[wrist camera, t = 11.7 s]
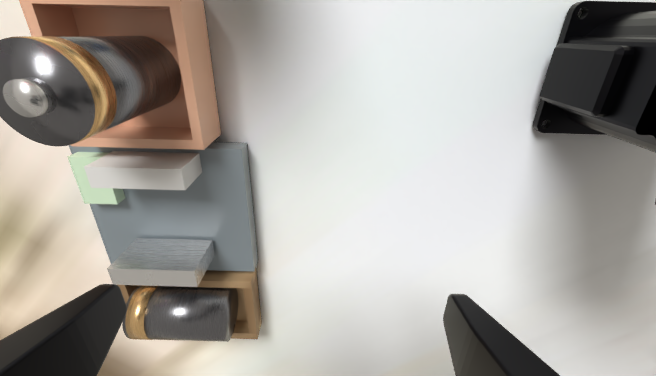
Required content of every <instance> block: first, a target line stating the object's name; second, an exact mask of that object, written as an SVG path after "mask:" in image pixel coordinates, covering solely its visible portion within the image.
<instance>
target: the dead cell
mask: <svg viewBox="0 0 656 376" xmlns="http://www.w3.org/2000/svg"><path fill="white" fill-rule="evenodd" d="M180 86H181V73H180V69H179V66H178V64H177V62H176V60H175V58H174V56H173V55H172V54H171V52H170V51H169V50H168V49H167V48H166V47H165V46H164V45H162V44H161V43H159V42H158V41H156V40H154V39H152V38H149V37H145V36H83V37H52V36H35V37H10V38H5V39H2V40H0V117H1V118H2V119H3V120H4V121H5V122H6V123H7V124H8V125H9V126H11V127H12V128H13V129H14V130H16V131H17V132H19V133H20V134H22V135H23V136H25V137H27V138H29V139H31V140H33V141H36V142H38V143H41V144H45V145H50V146H67V145H72V144H75V143H78V142H80V141H82V140H85V139H87V138H89V137H92V136H94V135H96V134H99V133H101V132H103V131H104V130H107V129H109V128H112V127H114V126H116V125H119V124H121V123H123V122H126V121H128V120H130V119H133V118H135V117H137V116H140V115H142V114H145V113H147V112H149V111H152V110H154V109H156V108H159V107H161V106H163V105H166V104H168V103H170V102H171V101H172V100H173V99H174V98H175V97H176V96H177V94H178V92H179V90H180Z"/></svg>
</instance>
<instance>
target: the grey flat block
mask: <svg viewBox="0 0 656 376" xmlns="http://www.w3.org/2000/svg"><path fill="white" fill-rule="evenodd" d="M69 147H70V150H71V153H72V155H70V156H68V160H69V162H70V165H71V168H72V171H73V173H74V176H75V179H76V181H77V184H78V187H79V190H80V192H81V195H82V198H83V201H84V203H85V204H90V206H91V209H92V212H93V215H94V217H95V220H96V223H97V226H98V229H99V231H100V234H101V237H102V240H103V243H104V245H105V248H106V251H107V254H108V257H109V259H110V262H111V264H112V263H113V262H114V261H115V260H116V259H117V258H118V257H119V256H120V255H121V254H122V253H123V252H124V251H125V250H126V249H127V248H128V247H129V246H130V244H131V243H132V242H133V241H134V240H135V239H136V238H152V239H188V240H212V241H213V247H214V253H215V256H214V257H213V259H212V261H211V263H210V265H209V267H208V269H207V270H216V271H252V272H254V271H255V268H256V265H257V262H258V254H257V244H256V234H255V223H254V213H253V203H252V192H251V182H250V171H249V161H248V151H247V143H230V142H212V143H211V144H210V145H209V146H208V147H206V148H205V149H204V150H194V149H155V148H116V147H77V146H71V145H69Z"/></svg>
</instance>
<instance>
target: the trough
mask: <svg viewBox="0 0 656 376" xmlns="http://www.w3.org/2000/svg"><path fill="white" fill-rule="evenodd" d="M118 286H119V287H120V289H121V292H122V295H123V297H124V300H125V303H127V301H128V299H129V297H130V295H131V294H132V292H133V291H134V290H135V289H136V288H137V287H138V286H140V285H118ZM142 286H146V285H142ZM177 287H182V286H177ZM198 287H213V288H236V289H237V293H238V314H237V320H236V325H235V329H234V332H233V334H232V337H231V338H237V339H258V335H259V331H260V327H261V323H262V321H261V311H260V301H259V291H258V281H257V271H256V268H255V271H254V272H252V271H216V270H206V272H205V274H204V276H203V278H202V280H201V282H200V283H199V285H198Z"/></svg>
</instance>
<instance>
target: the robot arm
mask: <svg viewBox="0 0 656 376" xmlns="http://www.w3.org/2000/svg"><path fill="white" fill-rule="evenodd" d="M581 8H582V10H583V14H582V15H581V17H580V18H578V16H577V14H578V11H579V10H580V9H581ZM540 96H541V99H540V102H539V106H538V109H537V112H536V115H535V118H534V122H533V127H534V129H535V130H537V131H539V132H542V133H570V134H607V135H610V136H613V137H615V138H618V139H621V140H624V141H626V142H629V143H632V144H634V145H637V146H640V147H642V148H645V149H648V150H651V151H653V152H656V3H651V2H607V1H583V2H577V3H575V4H574V5H572V6H571V8H570V9H569V11H568V13H567V16H566V19H565V22H564V25H563V28H562V32H561V35H560V38H559V41H558V44H557V47H556V48H555V49H554V52H553V55H552V58H551V61H550V65H549V68H548V71H547V74H546V78H545V81H544V84H543V87H542V90H541V94H540ZM545 120H547V123H546V124H545V125H544V126H542V123H543V121H545ZM655 204H656V200H655ZM126 311H127V306H126V303H125V300H124V297H123V295H122V292H121V289H120V287H119V286H118V285H115V284H102V285H99V286H97V287H95V288H93V289H92V290H90V291H88V292H86V293H84V294H83V295H81V296H79V297H77V298H75V299H74V300H72V301H70V302H68V303H67V304H65V305H63V306H61V307H59V308H58V309H56V310H54V311H52V312H50V313H49V314H47V315H45V316H43V317H41V318H40V319H38V320H36V321H34V322H32V323H31V324H29V325H27V326H25V327H23V328H22V329H20V330H18V331H16V332H14V333H13V334H11V335H9V336H7V337H6V338H4V339H2V340H0V376H97V374H98V372H99V370H100V368H101V366H102V364H103V362H104V360H105V358H106V356H107V354H108V351H109V349H110V347H111V345H112V343H113V341H114V339H115V337H116V334H117V332H118V330H119V328H120V326H121V324H122V322H123V319H124V317H125V315H126ZM443 321H444V327H445V331H446V336H447V340H448V344H449V349H450V353H451V358H452V362H453V366H454V371H455V375H456V376H560V375H559V374H558V373H556V372H555V371H554V370H553V369H552V368H551V367H549V366H548V365H547V364H546V363H545V362H544V361H542V360H541V359H540V358H539V357H538V356H537V355H536V354H534V353H533V352H532V351H531V350H530V349H529V348H527V347H526V346H525V345H524V344H523V343H522V342H520V341H519V340H518V339H517V338H516V337H515V336H513V335H512V334H511V333H510V332H509V331H508V330H506V329H505V328H504V327H503V326H502V325H501V324H500V323H498V322H497V321H496V320H495V319H494V318H493V317H491V316H490V315H489V314H488V313H487V312H486V311H484V310H483V309H482V308H481V307H480V306H479V305H477V304H476V303H475V302H474V301H473V300H472V299H470V298H469V297H468V296H467V295H465V294H450V295H449V297H448V300H447V304H446V308H445V312H444V317H443Z"/></svg>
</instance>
